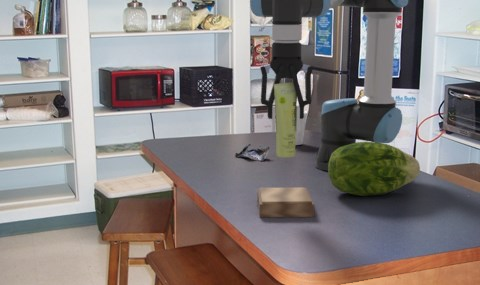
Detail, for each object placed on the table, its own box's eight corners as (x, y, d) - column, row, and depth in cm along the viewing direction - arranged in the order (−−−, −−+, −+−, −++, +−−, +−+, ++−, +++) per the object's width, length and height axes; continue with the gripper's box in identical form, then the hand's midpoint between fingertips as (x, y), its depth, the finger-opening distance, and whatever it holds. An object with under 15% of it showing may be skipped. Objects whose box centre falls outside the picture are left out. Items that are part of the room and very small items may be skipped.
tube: (292, 159, 162) (293, 84, 158) (273, 158, 164) (273, 83, 160) (297, 154, 167) (297, 81, 163) (278, 153, 169) (279, 81, 165)
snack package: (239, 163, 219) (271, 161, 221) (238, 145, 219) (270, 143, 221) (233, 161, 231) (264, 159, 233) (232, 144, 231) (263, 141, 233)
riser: (307, 200, 176) (307, 186, 175) (313, 216, 162) (314, 202, 161) (257, 200, 175) (257, 187, 175) (259, 217, 162) (259, 202, 161)
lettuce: (427, 200, 176) (431, 146, 173) (335, 203, 173) (337, 149, 170) (407, 185, 191) (410, 135, 187) (322, 188, 188) (323, 137, 184)
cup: (308, 147, 243) (309, 113, 240) (282, 147, 243) (282, 113, 241) (306, 141, 253) (306, 109, 250) (281, 141, 253) (281, 109, 250)
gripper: (321, 40, 163) (318, 128, 168) (249, 40, 163) (249, 128, 168) (325, 42, 156) (322, 133, 161) (250, 42, 156) (250, 133, 160)
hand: (285, 130), depth 164 cm, fingers closed on tube, 6 cm apart
